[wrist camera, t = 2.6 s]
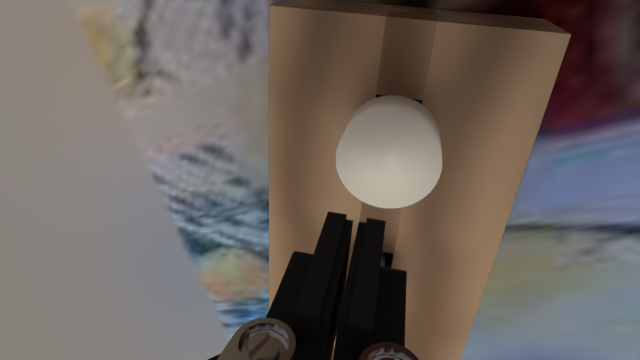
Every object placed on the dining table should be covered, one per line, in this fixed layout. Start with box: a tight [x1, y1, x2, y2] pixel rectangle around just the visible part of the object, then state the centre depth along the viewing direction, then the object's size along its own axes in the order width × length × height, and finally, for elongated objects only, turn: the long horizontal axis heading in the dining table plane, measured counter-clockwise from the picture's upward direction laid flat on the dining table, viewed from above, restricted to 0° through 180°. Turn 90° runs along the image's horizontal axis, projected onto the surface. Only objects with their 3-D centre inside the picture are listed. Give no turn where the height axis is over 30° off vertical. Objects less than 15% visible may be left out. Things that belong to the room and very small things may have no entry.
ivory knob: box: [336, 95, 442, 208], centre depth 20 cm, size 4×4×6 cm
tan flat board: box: [269, 0, 571, 360], centre depth 29 cm, size 14×30×5 cm, turn 177°
